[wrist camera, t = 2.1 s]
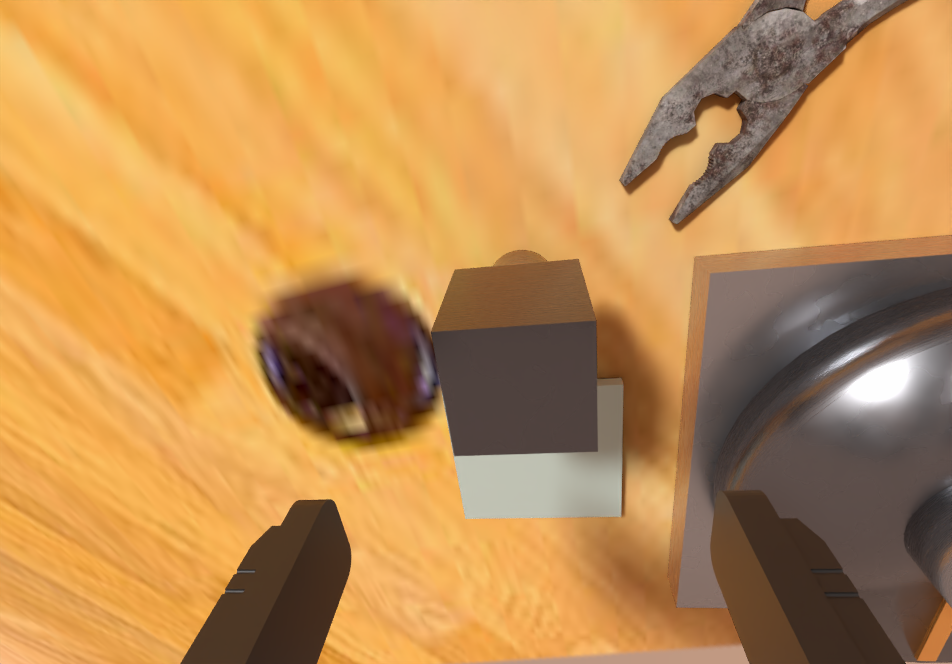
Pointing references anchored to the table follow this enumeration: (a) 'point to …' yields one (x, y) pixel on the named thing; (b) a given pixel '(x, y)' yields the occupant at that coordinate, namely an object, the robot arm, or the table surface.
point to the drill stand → (769, 356)
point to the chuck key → (518, 358)
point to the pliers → (752, 84)
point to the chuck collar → (866, 462)
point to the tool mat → (551, 474)
